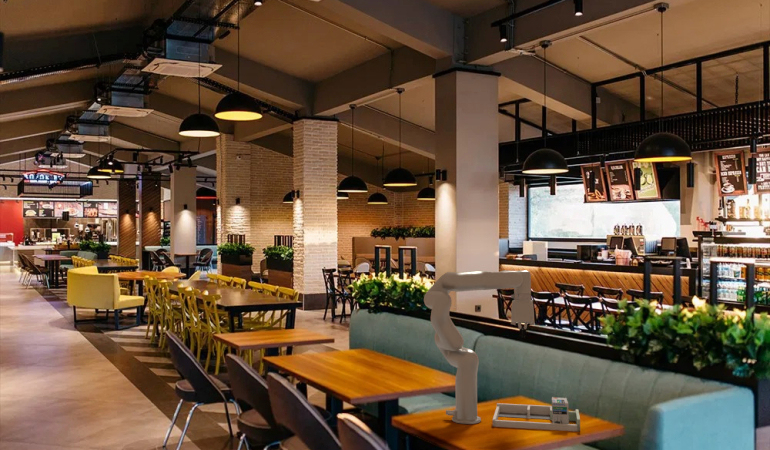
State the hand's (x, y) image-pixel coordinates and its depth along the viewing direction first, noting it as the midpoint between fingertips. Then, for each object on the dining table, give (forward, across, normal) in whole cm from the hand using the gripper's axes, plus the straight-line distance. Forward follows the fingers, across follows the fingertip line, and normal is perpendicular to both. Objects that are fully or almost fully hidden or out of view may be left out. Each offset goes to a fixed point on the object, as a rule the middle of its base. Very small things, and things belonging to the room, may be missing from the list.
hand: (522, 337), depth 312 cm
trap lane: (+35, +6, -11) cm, 37 cm away
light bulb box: (+35, +16, -14) cm, 41 cm away
